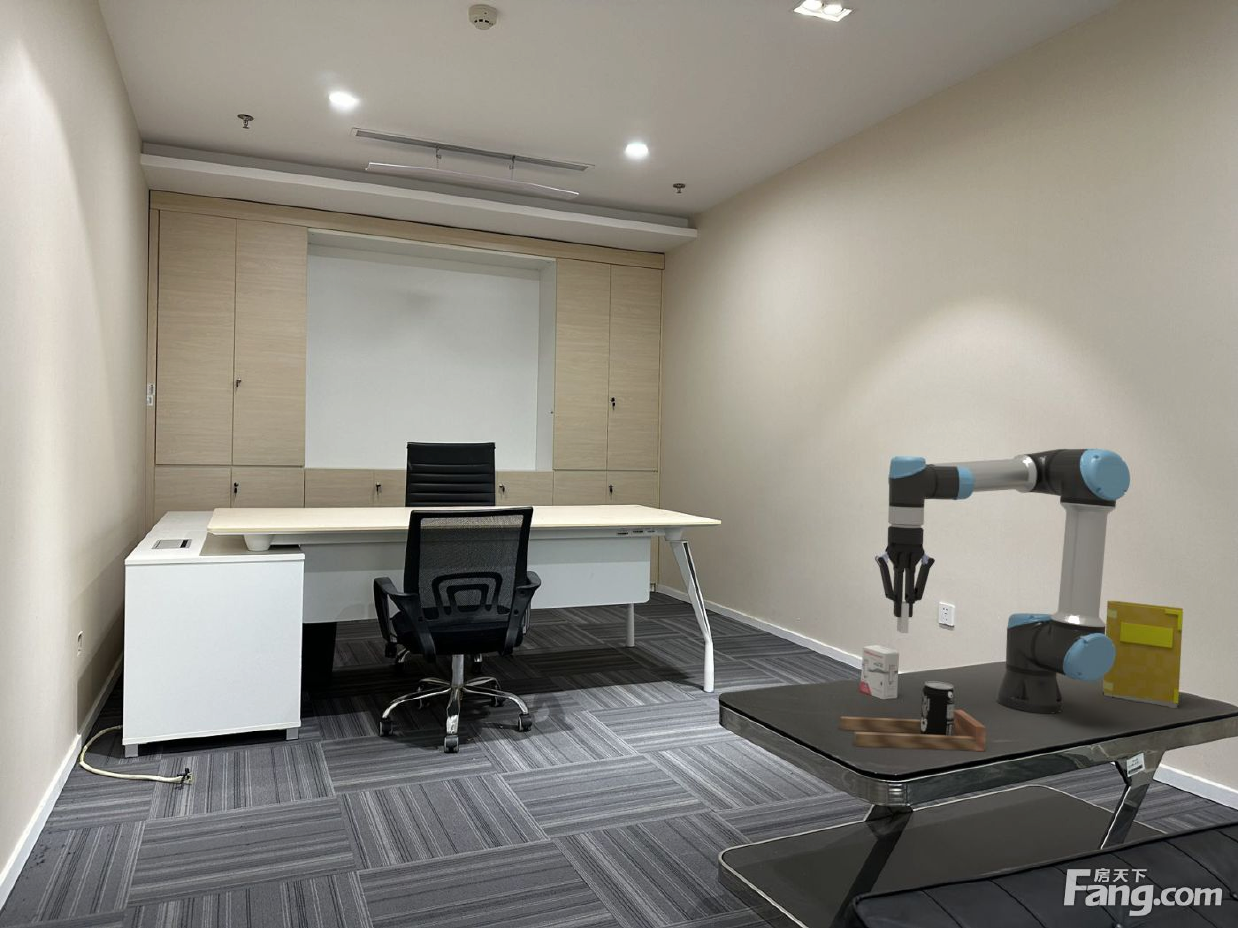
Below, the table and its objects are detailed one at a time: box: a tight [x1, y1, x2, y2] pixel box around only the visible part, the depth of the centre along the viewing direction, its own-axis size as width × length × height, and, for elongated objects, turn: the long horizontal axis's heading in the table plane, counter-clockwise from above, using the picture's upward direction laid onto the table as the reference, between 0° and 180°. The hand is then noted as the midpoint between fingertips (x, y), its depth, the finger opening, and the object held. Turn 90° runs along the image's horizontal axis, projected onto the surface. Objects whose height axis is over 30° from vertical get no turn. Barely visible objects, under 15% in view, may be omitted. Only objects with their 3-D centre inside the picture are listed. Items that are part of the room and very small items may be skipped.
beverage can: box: [920, 680, 956, 736], centre depth 184 cm, size 7×7×12 cm
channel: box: [839, 709, 987, 752], centre depth 184 cm, size 27×12×5 cm, turn 91°
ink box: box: [860, 644, 900, 700], centre depth 219 cm, size 9×5×12 cm, turn 27°
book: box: [1102, 600, 1184, 704], centre depth 226 cm, size 17×7×25 cm, turn 58°
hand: (902, 631), depth 190 cm, fingers closed
